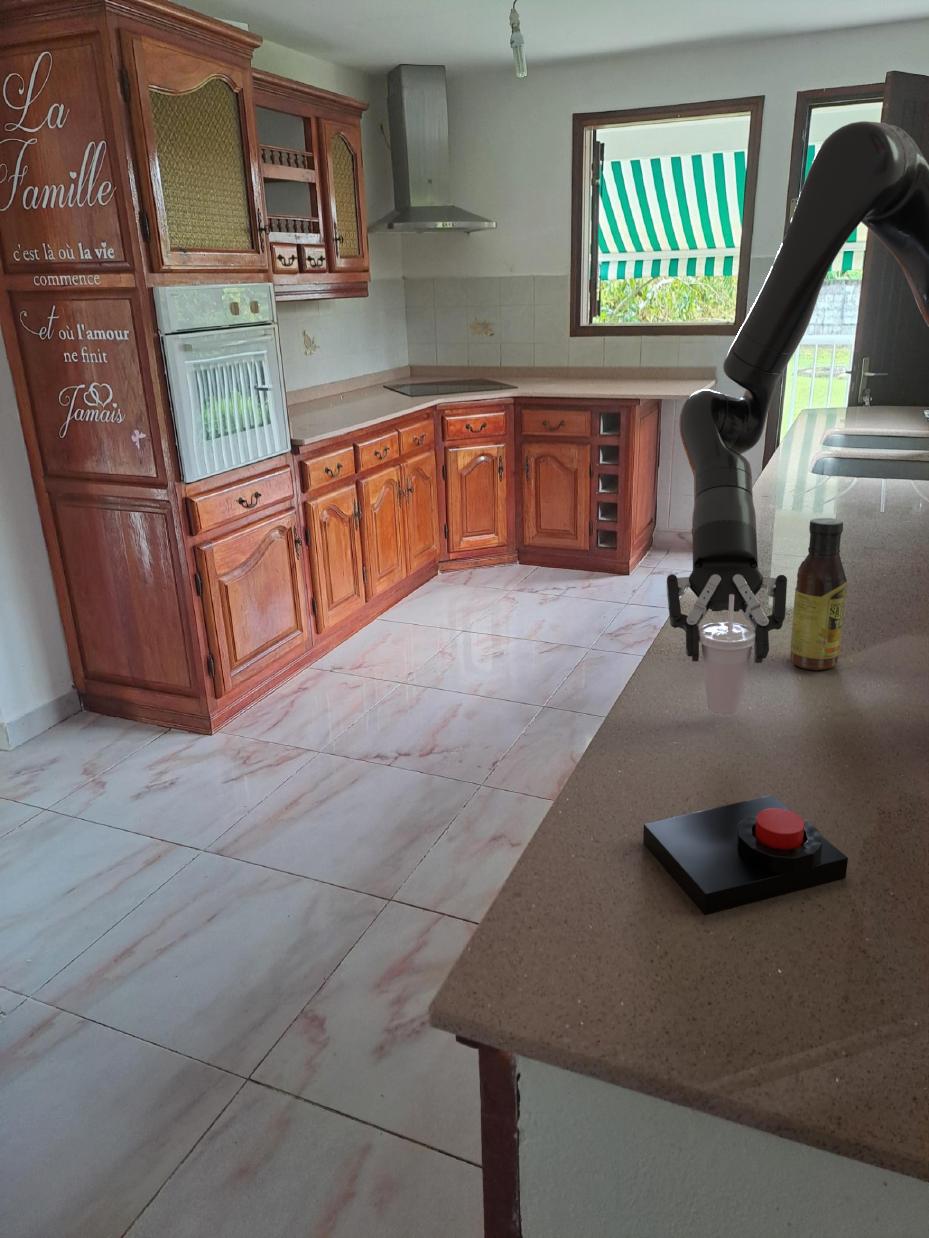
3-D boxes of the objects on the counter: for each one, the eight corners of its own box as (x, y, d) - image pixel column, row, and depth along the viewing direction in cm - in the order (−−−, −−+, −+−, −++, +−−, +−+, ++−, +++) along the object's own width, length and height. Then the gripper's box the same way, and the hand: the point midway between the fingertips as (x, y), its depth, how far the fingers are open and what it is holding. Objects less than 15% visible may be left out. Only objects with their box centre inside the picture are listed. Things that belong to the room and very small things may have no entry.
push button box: (770, 813, 87) (773, 778, 86) (849, 881, 77) (854, 842, 75) (643, 843, 84) (643, 807, 82) (707, 919, 73) (709, 879, 72)
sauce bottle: (834, 675, 116) (849, 529, 109) (784, 668, 119) (796, 525, 112) (841, 657, 121) (856, 517, 114) (794, 651, 124) (805, 513, 117)
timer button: (784, 820, 80) (785, 804, 79) (812, 845, 76) (814, 827, 76) (745, 829, 79) (746, 813, 78) (772, 855, 75) (774, 837, 75)
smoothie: (763, 707, 104) (770, 596, 99) (727, 724, 101) (733, 610, 96) (720, 690, 109) (724, 583, 104) (684, 706, 106) (687, 596, 101)
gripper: (664, 518, 106) (663, 646, 99) (790, 516, 103) (798, 648, 96) (663, 548, 112) (662, 670, 106) (781, 547, 109) (788, 673, 103)
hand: (727, 659), depth 101 cm, fingers closed on smoothie, 6 cm apart
